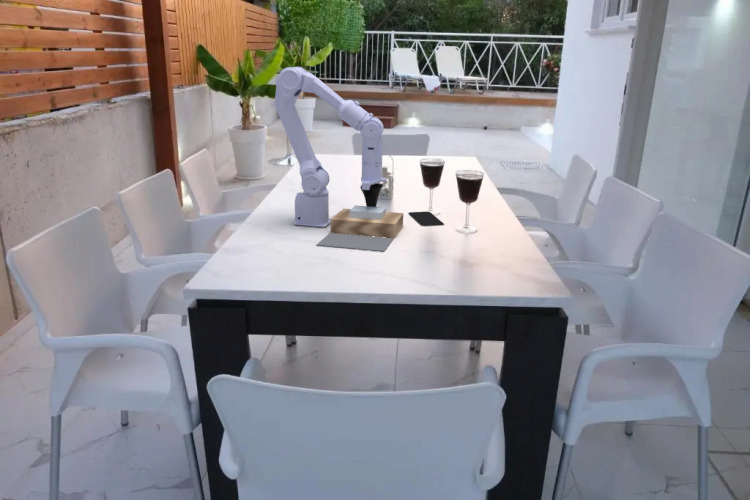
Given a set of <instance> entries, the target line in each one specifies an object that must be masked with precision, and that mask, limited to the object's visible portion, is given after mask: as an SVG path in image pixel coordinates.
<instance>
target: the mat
mask: <svg viewBox="0 0 750 500" xmlns="http://www.w3.org/2000/svg"><path fill="white" fill-rule="evenodd" d="M393 241H394V238H383V237H372V236H360V235H349V234H338V233H331V232H329V233H328V234H327V235H325V237H323V238H322V239H321V240H320V241H318V243H316V245H315V246H316V247H324V248H325V247H326V248H334V249H335V248H336V249H345V248H346V250H347V249H349V250H356V249H358V250H357V251H367V250H371V251H370V252H377V251H380V253H385V252H386V251H387V249H388V248H389V246H390V245H391V244H392V242H393ZM390 243H391V244H390ZM387 247H388V248H387Z"/></svg>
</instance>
